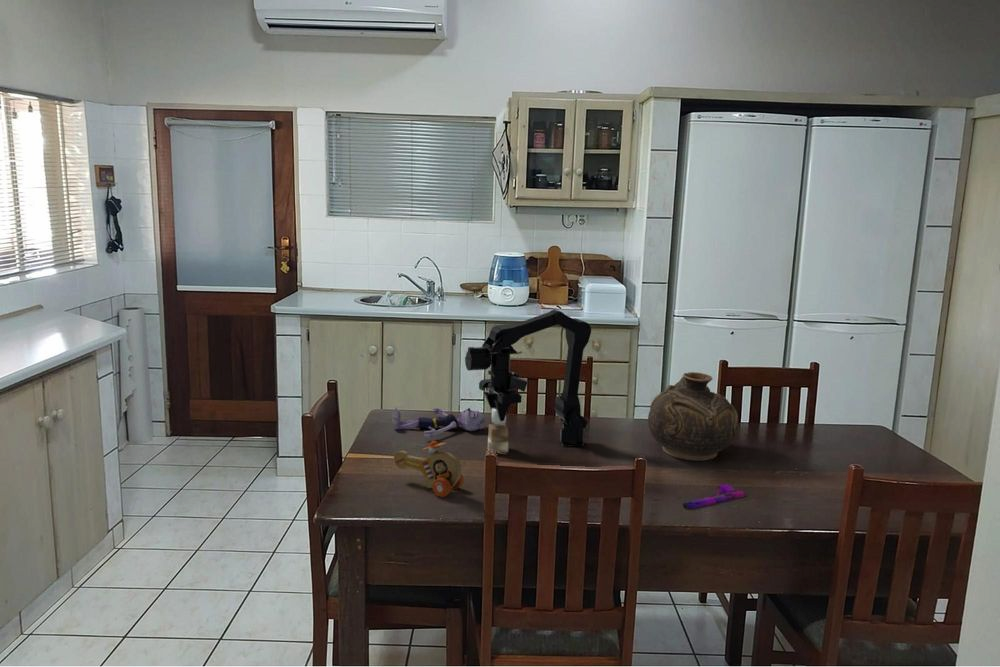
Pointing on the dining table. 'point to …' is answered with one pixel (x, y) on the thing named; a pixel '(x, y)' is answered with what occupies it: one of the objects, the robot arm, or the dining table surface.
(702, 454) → the vessel
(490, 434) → the top block
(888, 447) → the dining table surface
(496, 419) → the grey rounded cylinder
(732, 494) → the handgun
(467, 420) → the toy
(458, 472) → the toy helicopter
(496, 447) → the base block
